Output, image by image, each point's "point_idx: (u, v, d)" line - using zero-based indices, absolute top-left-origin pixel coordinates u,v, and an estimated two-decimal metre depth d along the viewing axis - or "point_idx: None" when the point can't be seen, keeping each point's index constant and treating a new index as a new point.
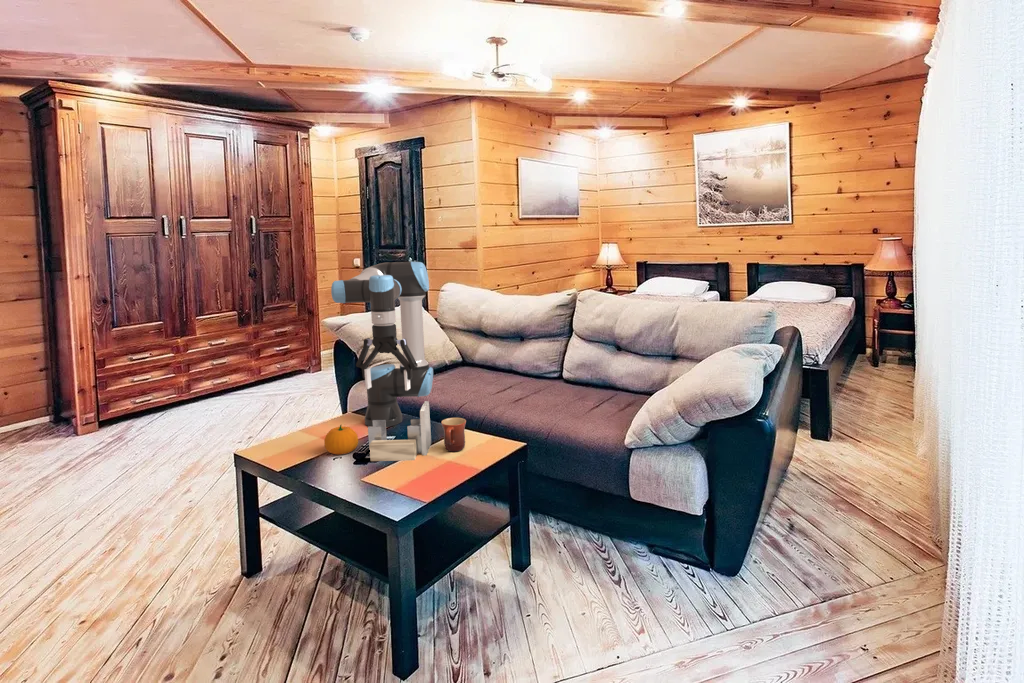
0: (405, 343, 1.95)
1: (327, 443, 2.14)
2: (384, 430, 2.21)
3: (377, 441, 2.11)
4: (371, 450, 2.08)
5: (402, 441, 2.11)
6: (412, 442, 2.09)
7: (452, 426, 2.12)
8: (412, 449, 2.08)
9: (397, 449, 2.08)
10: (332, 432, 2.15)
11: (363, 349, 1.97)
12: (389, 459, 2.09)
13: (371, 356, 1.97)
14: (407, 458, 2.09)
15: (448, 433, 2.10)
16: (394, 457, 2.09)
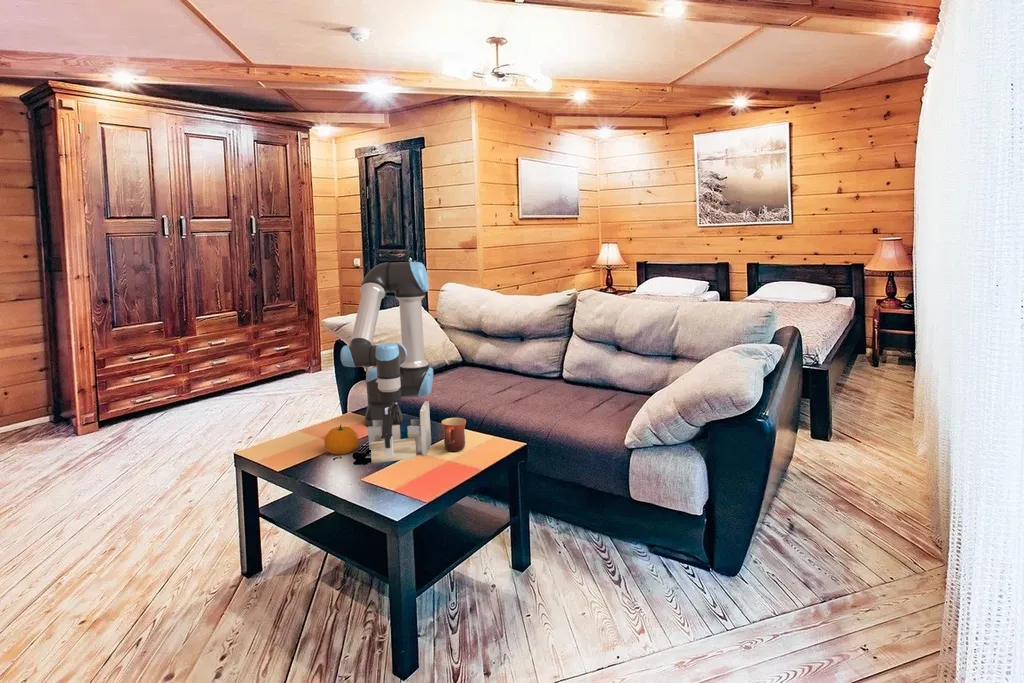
0: (386, 412, 2.01)
1: (327, 443, 2.14)
2: None
3: (376, 442, 2.10)
4: (372, 451, 2.07)
5: (402, 440, 2.12)
6: (413, 440, 2.11)
7: (452, 426, 2.12)
8: (414, 447, 2.10)
9: (399, 448, 2.09)
10: (332, 432, 2.15)
11: None
12: (391, 459, 2.09)
13: None
14: (409, 457, 2.10)
15: (448, 433, 2.10)
16: (396, 456, 2.09)
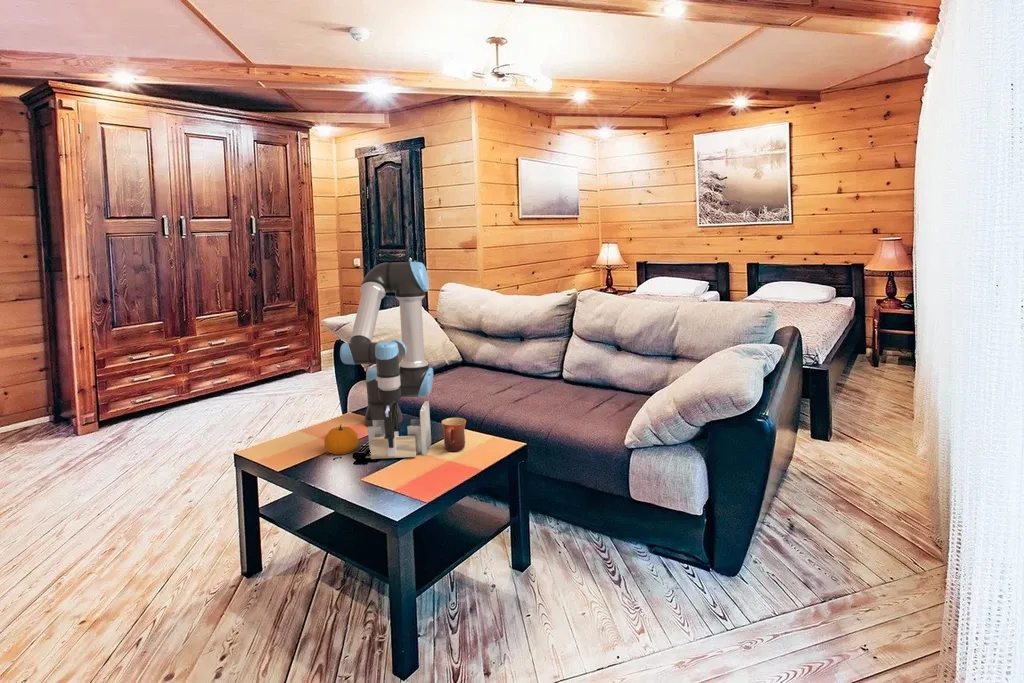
0: (387, 415, 2.02)
1: (327, 443, 2.14)
2: (384, 430, 2.21)
3: (377, 438, 2.11)
4: (372, 447, 2.08)
5: (402, 437, 2.11)
6: (412, 438, 2.10)
7: (452, 426, 2.12)
8: (413, 445, 2.09)
9: (398, 445, 2.09)
10: (332, 432, 2.15)
11: None
12: (390, 456, 2.09)
13: None
14: (408, 454, 2.09)
15: (448, 433, 2.10)
16: None
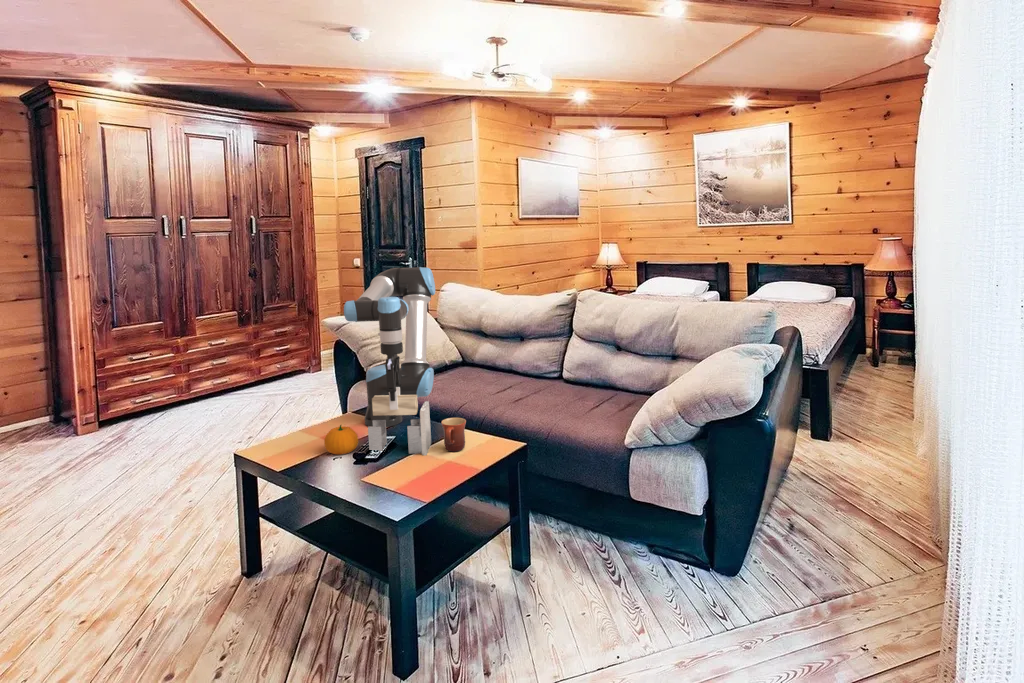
0: (389, 368, 2.07)
1: (327, 443, 2.14)
2: (384, 430, 2.21)
3: (379, 396, 2.16)
4: (374, 403, 2.13)
5: (404, 396, 2.16)
6: (413, 397, 2.15)
7: (452, 426, 2.12)
8: (413, 403, 2.13)
9: (399, 403, 2.13)
10: (332, 432, 2.15)
11: None
12: (391, 413, 2.14)
13: None
14: (408, 412, 2.14)
15: (448, 433, 2.10)
16: (396, 411, 2.14)
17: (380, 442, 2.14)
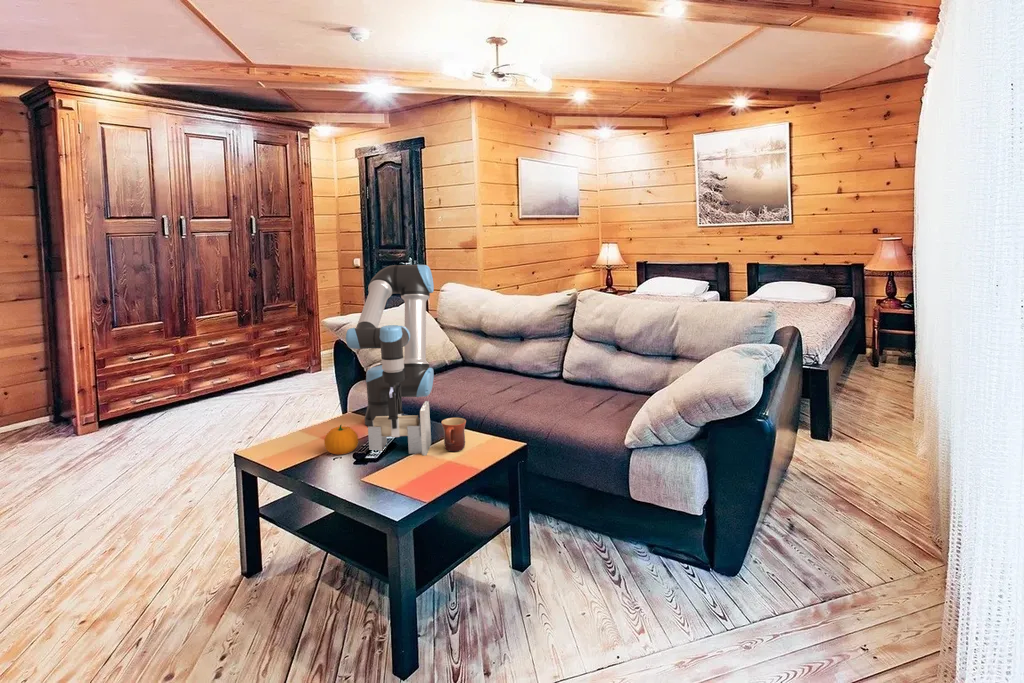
0: (391, 396, 2.09)
1: (327, 443, 2.14)
2: None
3: (380, 417, 2.18)
4: (375, 425, 2.15)
5: (405, 416, 2.17)
6: (415, 417, 2.16)
7: (452, 426, 2.12)
8: (415, 424, 2.15)
9: (400, 424, 2.15)
10: (332, 432, 2.15)
11: None
12: None
13: None
14: None
15: (448, 433, 2.10)
16: None
17: (380, 442, 2.14)
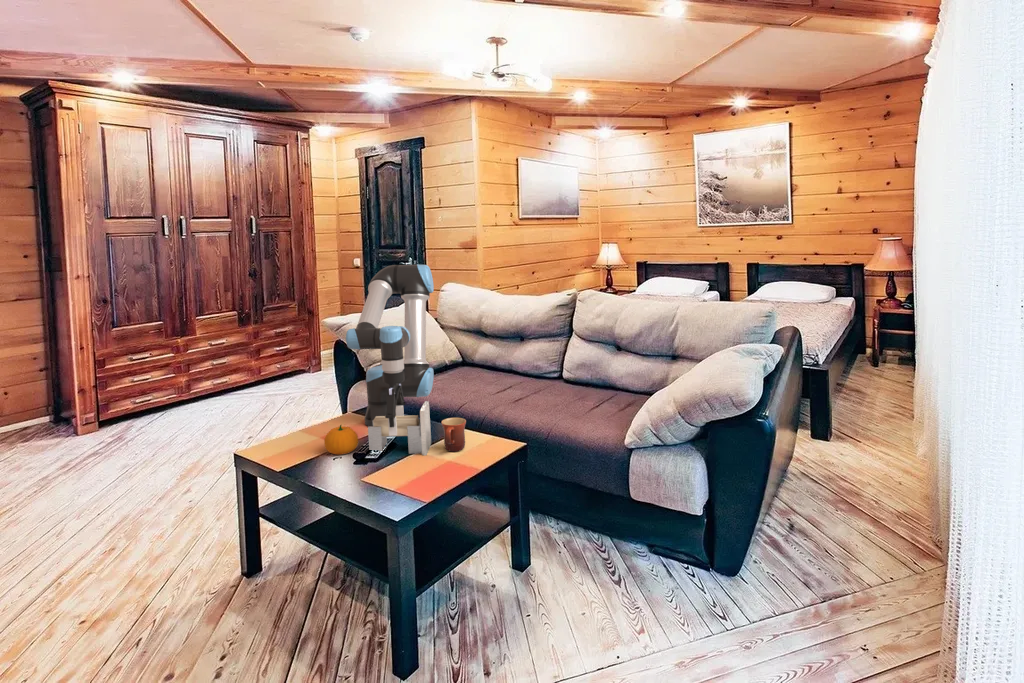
0: (390, 393, 2.08)
1: (327, 443, 2.14)
2: None
3: (380, 417, 2.18)
4: (375, 425, 2.15)
5: (405, 416, 2.17)
6: (415, 417, 2.16)
7: (452, 426, 2.12)
8: (415, 424, 2.15)
9: (400, 424, 2.15)
10: (332, 432, 2.15)
11: None
12: None
13: None
14: None
15: (448, 433, 2.10)
16: (397, 432, 2.15)
17: (380, 442, 2.14)
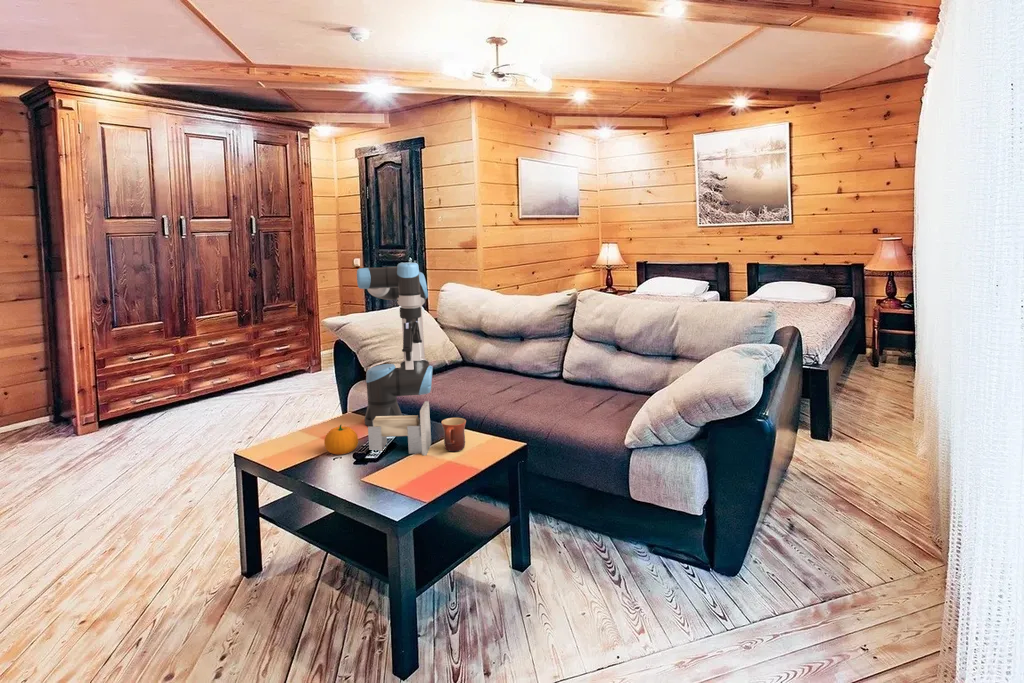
0: (407, 327, 2.12)
1: (327, 443, 2.14)
2: None
3: (380, 417, 2.18)
4: (375, 425, 2.15)
5: (405, 416, 2.17)
6: (415, 417, 2.16)
7: (452, 426, 2.12)
8: (415, 424, 2.15)
9: (400, 424, 2.15)
10: (332, 432, 2.15)
11: None
12: (392, 434, 2.15)
13: None
14: None
15: (448, 433, 2.10)
16: (397, 432, 2.15)
17: (380, 442, 2.14)
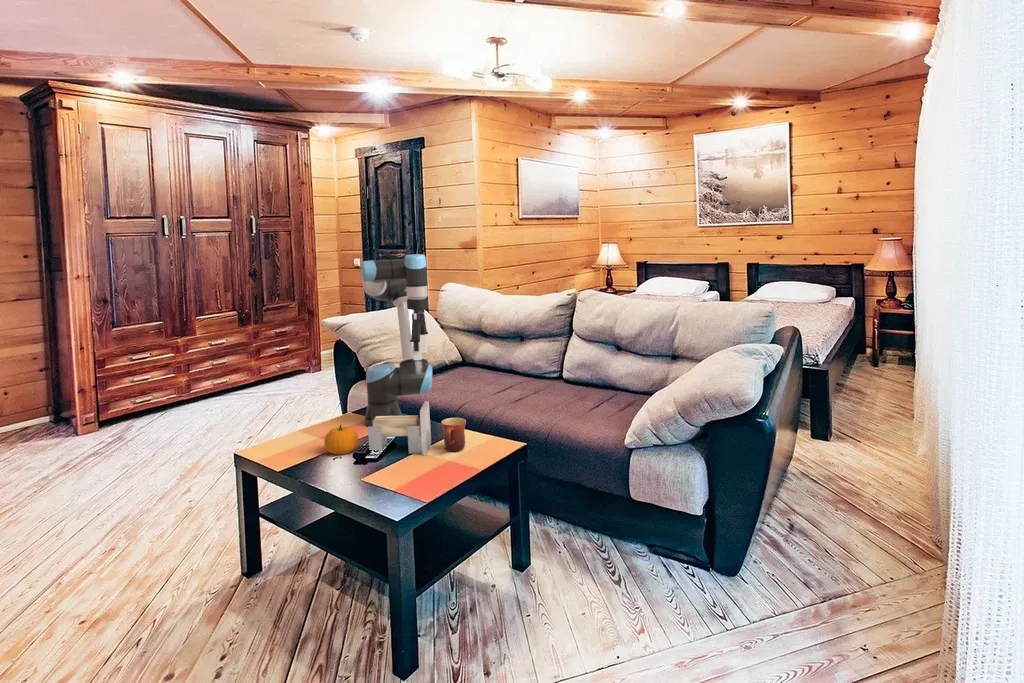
0: (415, 317, 2.14)
1: (327, 443, 2.14)
2: None
3: (380, 417, 2.18)
4: (375, 425, 2.15)
5: (405, 416, 2.17)
6: (415, 417, 2.16)
7: (452, 426, 2.12)
8: (415, 424, 2.15)
9: (400, 424, 2.15)
10: (332, 432, 2.15)
11: None
12: (392, 434, 2.15)
13: None
14: None
15: (448, 433, 2.10)
16: (397, 432, 2.15)
17: (380, 442, 2.14)
